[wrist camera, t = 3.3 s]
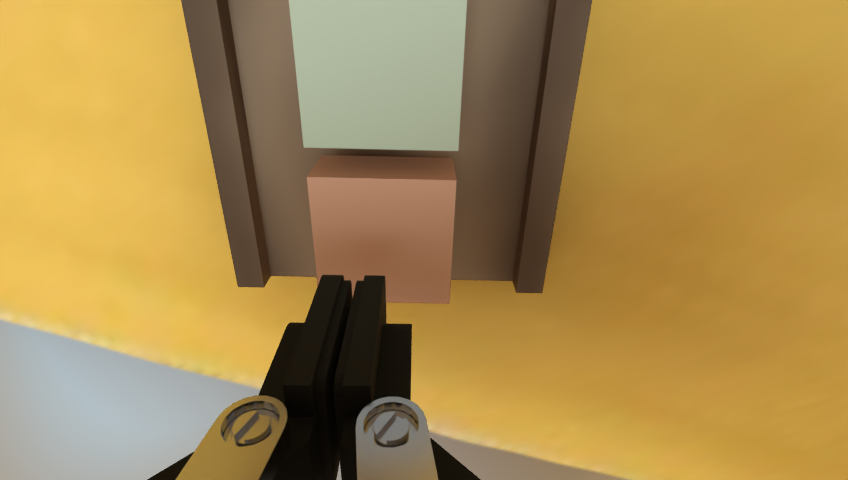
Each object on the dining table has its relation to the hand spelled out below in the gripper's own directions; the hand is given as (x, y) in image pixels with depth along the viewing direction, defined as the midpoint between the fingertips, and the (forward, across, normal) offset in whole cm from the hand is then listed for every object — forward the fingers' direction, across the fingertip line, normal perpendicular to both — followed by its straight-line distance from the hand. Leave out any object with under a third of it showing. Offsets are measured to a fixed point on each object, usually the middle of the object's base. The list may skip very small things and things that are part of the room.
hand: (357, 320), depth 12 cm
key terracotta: (+7, 0, 0) cm, 7 cm away
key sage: (+7, 0, -6) cm, 9 cm away
